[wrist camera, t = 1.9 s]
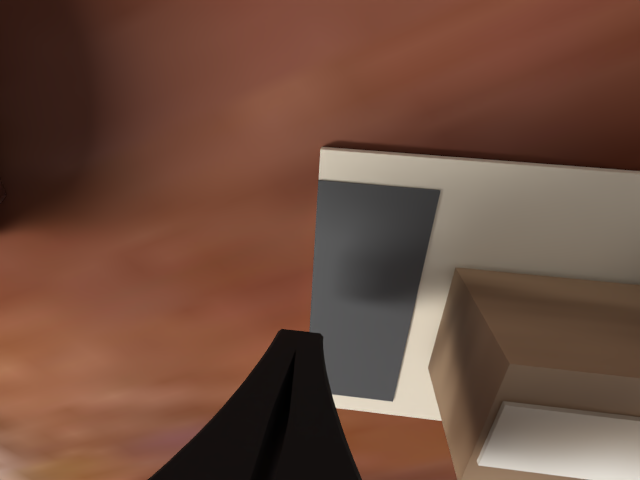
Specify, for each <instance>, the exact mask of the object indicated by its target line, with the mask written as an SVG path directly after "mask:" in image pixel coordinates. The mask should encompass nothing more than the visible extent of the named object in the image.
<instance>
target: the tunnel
mask: <svg viewBox="0 0 640 480" xmlns="http://www.w3.org/2000/svg"><path fill="white" fill-rule="evenodd" d="M455 267H457V268H467V269H478V270H488V271H499V272H509V273H520V274H530V275H541V276H551V277H562V278H572V279H582V280H593V281H603V282H614V283H624V284H635V285H640V171H631V170H618V169H605V168H592V167H579V166H566V165H553V164H540V163H527V162H514V161H501V160H488V159H475V158H462V157H449V156H436V155H423V154H410V153H397V152H384V151H371V150H358V149H345V148H331V147H321V149H320V166H319V180H318V196H317V214H316V231H315V248H314V265H313V282H312V300H311V317H310V332H313V333H321V335H322V336H323V350H324V359H325V365H326V371H327V376H328V380H329V384H330V388H331V392H332V396H333V400H334V404H335V407H336V408H341V409H349V410H358V411H366V412H374V413H382V414H390V415H399V416H407V417H415V418H423V419H431V420H440V421H442V419H441V416H440V412H439V408H438V404H437V401H436V397H435V393H434V389H433V385H432V382H431V378H430V374H429V370H428V365H429V362H430V358H431V354H432V351H433V347H434V344H435V340H436V336H437V333H438V329H439V325H440V322H441V318H442V314H443V311H444V307H445V304H446V300H447V296H448V293H449V289H450V285H451V282H452V278H453V275H454V271H455Z"/></svg>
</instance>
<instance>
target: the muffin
mask: <svg viewBox="0 0 640 480" xmlns="http://www.w3.org/2000/svg"><path fill="white" fill-rule="evenodd" d="M5 196H6V193H5V190H4V187H3V185H2V182H1V180H0V203H1V202H2V201H3V199H4V198H5Z"/></svg>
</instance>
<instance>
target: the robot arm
mask: <svg viewBox="0 0 640 480" xmlns="http://www.w3.org/2000/svg"><path fill="white" fill-rule="evenodd" d="M148 480H362V479H361V476H360V474H359V471H358V469H357V467H356V464H355V462H354V459H353V457H352V454H351V451H350V449H349V446H348V443H347V441H346V438H345V435H344V432H343V429H342V426H341V423H340V420H339V417H338V414H337V410H336V407H335V404H334V400H333V396H332V392H331V388H330V384H329V380H328V376H327V371H326V365H325V359H324V350H323V336H322V335H321V333H313V332H304V331H295V330H285V329H281V330H280V331H278V333H277V335H276V337H275V338H274V340H273V342H272V343H271V345H270V346H269V348H268V349H267V351H266V352H265V354H264V355H263V357H262V358H261V360H260V361H259V362H258V364H257V365H256V366H255V368H254V369H253V370H252V372H251V373H250V374H249V376H248V377H247V378H246V380H245V381H244V382H243V383H242V385H241V386H240V387H239V388H238V389H237V391H236V392H235V393H234V394H233V395H232V397H231V398H230V399H229V400H228V401H227V402H226V404H225V405H224V406H223V407H222V408H221V409H220V410H219V412H218V413H217V414H216V415H215V416H214V417H213V418H212V419H211V420H210V421H209V422H208V423H207V424H206V425H205V426H204V428H203V429H202V430H201V431H200V432H199V433H198V434H197V435H196V436H195V437H194V438H193V439H192V440H191V441H190V442H189V443H187V444H186V445H185V446H184V447H183V448H182V449H181V450H180V451H179V452H178V453H177V454H176V455H175V456H174V457H173V458H172V459H171V460H170V461H168V462H167V463H166V464H165V465H164V466H163V467H162V468H161V469H160V470H158V471H157V472H156V473H155V474H154V475H153V476H152V477H150V478H149V479H148Z"/></svg>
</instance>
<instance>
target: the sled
mask: <svg viewBox="0 0 640 480" xmlns="http://www.w3.org/2000/svg"><path fill="white" fill-rule="evenodd" d="M428 370H429V374H430V378H431V382H432V385H433V389H434V393H435V397H436V401H437V404H438V408H439V412H440V416H441V419H442V423H443V427H444V431H445V435H446V438H447V442H448V446H449V450H450V453H451V457H452V461H453V465H454V469H455V472H456V476H457V480H640V285H635V284H624V283H614V282H603V281H593V280H582V279H572V278H562V277H551V276H541V275H530V274H520V273H509V272H499V271H488V270H478V269H467V268H457V267H455V271H454V275H453V278H452V282H451V285H450V289H449V293H448V296H447V300H446V304H445V307H444V311H443V314H442V318H441V322H440V325H439V329H438V333H437V336H436V340H435V344H434V347H433V351H432V354H431V358H430V362H429V365H428Z"/></svg>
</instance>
